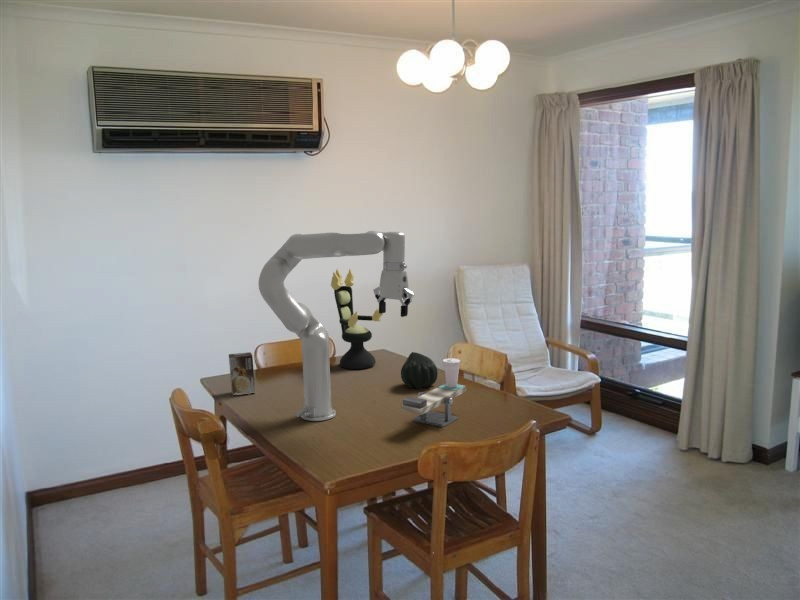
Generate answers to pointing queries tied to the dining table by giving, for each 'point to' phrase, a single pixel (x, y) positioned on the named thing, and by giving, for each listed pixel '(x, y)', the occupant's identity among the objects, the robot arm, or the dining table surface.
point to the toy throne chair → (352, 325)
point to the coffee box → (241, 373)
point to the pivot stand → (437, 415)
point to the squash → (418, 371)
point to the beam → (431, 399)
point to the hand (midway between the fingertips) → (393, 314)
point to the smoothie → (451, 370)
